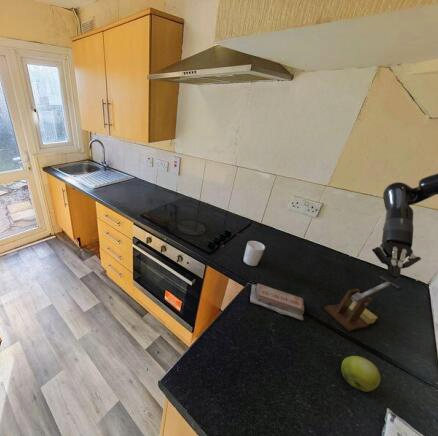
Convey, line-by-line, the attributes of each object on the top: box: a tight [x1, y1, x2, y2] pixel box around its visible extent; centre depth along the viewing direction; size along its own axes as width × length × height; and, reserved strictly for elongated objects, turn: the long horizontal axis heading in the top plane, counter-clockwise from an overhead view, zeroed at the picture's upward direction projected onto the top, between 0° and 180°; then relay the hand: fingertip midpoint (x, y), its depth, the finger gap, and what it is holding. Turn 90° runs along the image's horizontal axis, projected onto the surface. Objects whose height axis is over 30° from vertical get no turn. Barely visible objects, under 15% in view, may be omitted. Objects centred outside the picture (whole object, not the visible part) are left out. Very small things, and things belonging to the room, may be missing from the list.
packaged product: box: [249, 283, 305, 321], centre depth 88 cm, size 18×5×10 cm
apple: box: [340, 355, 381, 393], centre depth 63 cm, size 8×9×8 cm
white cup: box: [243, 240, 266, 267], centre depth 110 cm, size 8×8×10 cm
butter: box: [349, 302, 378, 325], centre depth 86 cm, size 4×8×3 cm, turn 13°
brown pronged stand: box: [323, 288, 373, 332], centre depth 82 cm, size 9×10×12 cm
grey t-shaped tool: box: [351, 274, 403, 304], centre depth 80 cm, size 15×6×2 cm, turn 104°
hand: (393, 277), depth 80 cm, fingers closed
